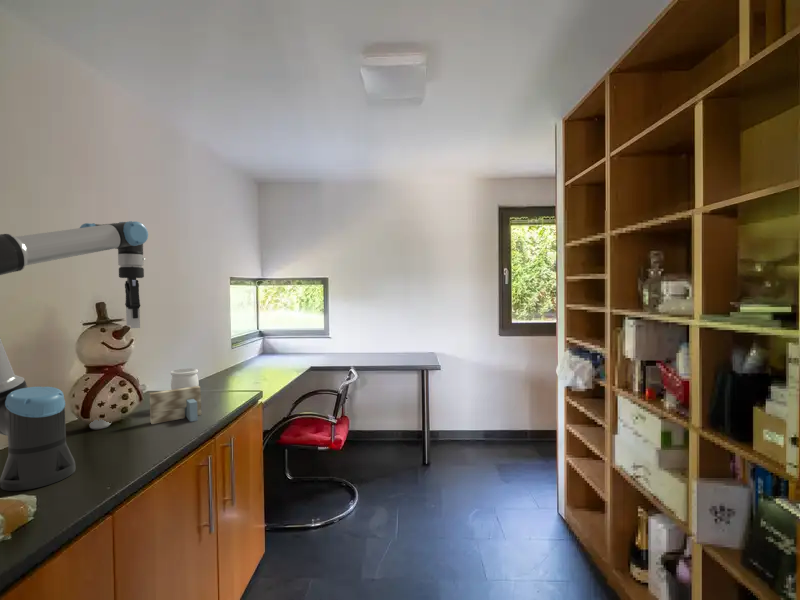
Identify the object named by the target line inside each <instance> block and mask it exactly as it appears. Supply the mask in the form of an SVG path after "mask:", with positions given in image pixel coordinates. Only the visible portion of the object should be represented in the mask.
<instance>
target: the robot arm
mask: <svg viewBox="0 0 800 600" xmlns="http://www.w3.org/2000/svg"><path fill="white" fill-rule="evenodd" d="M148 238H149V231H148V229H147V227H146V226H145V225H144V224H143V223H142V222H139V221H132V220H130V221H119V222H112V223H105V224H103V223H102V224H99V223H89V222H86V223H83V224H81V225H80V227H78V228H70V229H64V230H63V229H61V230H55V231H47V232H40V233H39V232H38V233H32V234H25V235H18V236H14V235H12V234H10V233H1V234H0V276H4V275H7V274H11V273H16V272H20V271H23V270H24V269H25V267H26V266H30V265H31V266H32V265H36V264H41V263H47V262H51V261H56V260H63V259H69V258H73V257H77V256H83V255H89V254H93V253H98V252H103V251H109V250H110V251H111V250H114V249H115V250H117V264H118V265H117V266H119V267H118V277H119V278H121V279H126V280H125V283H124V291H125V292H124V293H125V304H124V305H125V308H126V309H125V314H126V316H125V318H126V326H127V327H129V326H130V329H141V319H140V318H141V315H140V314H141V311H140V308H141V302H140V301H141V300H140V289H139V288H140V284H139V280H138V279H143V278H144V277H145V269H144V267H143V266H144V261H146V258H145V257H144V244H145V243H146V242H147V241H148ZM27 384H28V383H26V379H25V377H23V376H20V375H16V374H15V371H14V369H13V367H12V364H11V362H10V359H9V357H8V354H7V352H6V349H5V347H4V344H3V341H2V339H1V337H0V435H2V436H7V450H8V456H7V458H6V460H5V464H4V467H3V470H2V473H1V476H0V489H1V490H3V491H7V492H8V491H9V492H19V491H27V490H28V491H29V490H32V489H38V488H42V487H46V486H49V485H53V484H56V483H58V482H60V481H63V480H65V479H66V478H68V477H70V476H71V475H73V474H75V471H76V460H75V458H74V456H73V454H72V453H71V450H70V448H69V445H68V444H67V432H66V430H67V428H66V400H65V396H64V394H65V393H64V391H62V390H61V389H59V388H57V387H54V386H30V387H28V385H27Z"/></svg>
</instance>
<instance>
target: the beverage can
mask: <svg viewBox="0 0 800 600" xmlns="http://www.w3.org/2000/svg"><path fill="white" fill-rule="evenodd" d="M111 424H112V422H111V423H109V422H106V421H104V420H102V419H101V420H100V419H99V421H98V420H94V421H93V422H91V423H90V424H89V423H88V425H89V428H90V429H91V430H102V429H106V428H108V427H110V425H111Z"/></svg>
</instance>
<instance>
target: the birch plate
mask: <svg viewBox="0 0 800 600" xmlns="http://www.w3.org/2000/svg"><path fill="white" fill-rule="evenodd" d="M201 388H202V386H200V385H199V386H194V387H187V388H180V389H173V390H171V389H167V390H160V391H154V392H149V417H150V420H149V421H150V423H151V425H155V424H161V423H165V422H170V421H175V420H180V419H181V420H182V419H186V416H185V408H186V407H187V401H186V400H189V399H194V400H195V401H197V414H198V416H202V394H201V393H202V391H201Z"/></svg>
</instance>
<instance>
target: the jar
mask: <svg viewBox="0 0 800 600" xmlns="http://www.w3.org/2000/svg"><path fill="white" fill-rule="evenodd" d="M198 373H199V369H197V368H181V369H175V370H171V371H170V375H171V380H170V381H171V382H170V390H173V389H180V388H187V387H194V386H200V385H199V384H200V383H199V376H198Z"/></svg>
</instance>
